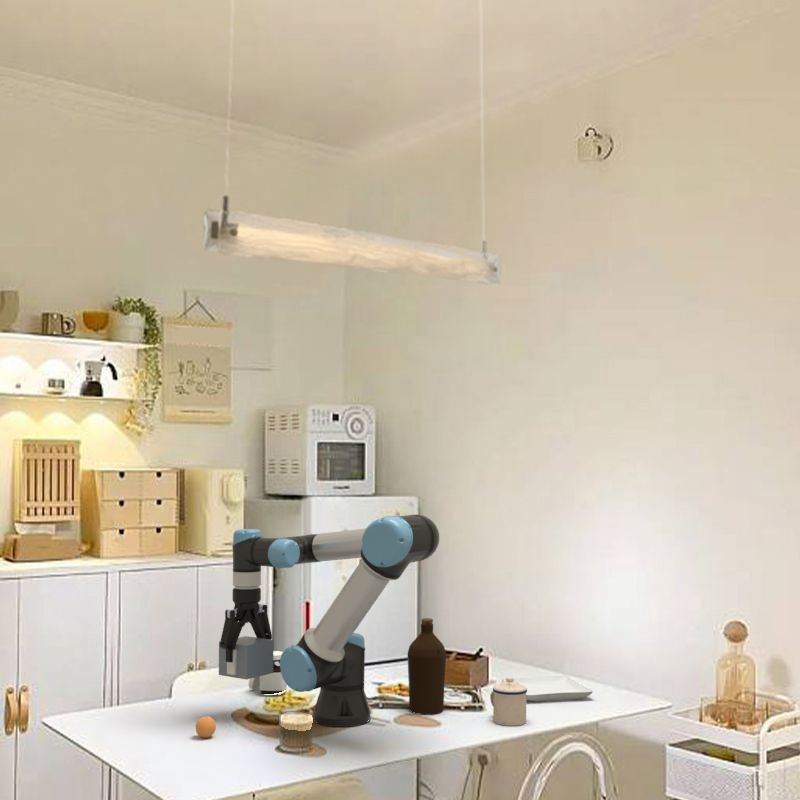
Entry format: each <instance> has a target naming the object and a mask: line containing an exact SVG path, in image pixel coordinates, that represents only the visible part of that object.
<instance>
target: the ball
mask: <svg viewBox="0 0 800 800" xmlns="http://www.w3.org/2000/svg"><path fill="white" fill-rule="evenodd" d="M216 730H217V724H216V721H215V720H214V719H213V718H212V717H210V716H203V717H201V718H199V719H198V720H197V721H196V724H195V732H196V734H197V735H198V736H199V737H200V738H204V739H206V738H210V737H212V736H213V735H214V733H215V732H216Z"/></svg>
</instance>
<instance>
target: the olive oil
mask: <svg viewBox="0 0 800 800" xmlns="http://www.w3.org/2000/svg"><path fill="white" fill-rule="evenodd" d="M420 619H421V624H420V633H419V634H418V636H417V637H415V639H414V640H413V641H412V642H411V643H410V645H409V647H408V650H407V675H408V676H407V677H408V701H409V702H408V704H409V705H408V709H410V710H411V711H412V712H411V711H410V710H409V711H410V712H411V713H413V712H415V713H414V714H416V713H420V714H419V715H426V714H429V715H437V714H440V713H442V711H443V712H444V704H445V702H444V701H445V681H446V680H445V679H446V664H447V663H446V662H447V652H446V648H445V646H444V644H443V643H442V641H440V639H439V638H438V637H437V636H436V635H435V634H434V624H433V623H434V619H433V618H429V617H428V618H420Z"/></svg>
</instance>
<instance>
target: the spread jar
mask: <svg viewBox="0 0 800 800" xmlns="http://www.w3.org/2000/svg"><path fill="white" fill-rule="evenodd" d="M283 652H284V651H280V650H273V673H271V674H267V675H263V676H259V677H255V678H251V679H248V687H249V689H251V690H252V691H257V690H259V692H260V694H261V695H262V694H274V693H279V692H282V691H284V690H286V691H287V687H288V685H287V684H286V683H285V681H284V679H283V677H282V675H281V668H280V658H281V655H282V653H283Z"/></svg>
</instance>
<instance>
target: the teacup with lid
mask: <svg viewBox="0 0 800 800" xmlns="http://www.w3.org/2000/svg"><path fill="white" fill-rule="evenodd" d="M505 679H506V681H502V682H500V683H498V684H495V685H494V686H493V688H492V691H491V692H490V698H489V699H490V704H491V706H492V707H493V708H492V709H493V716H492V717H493V722H494V723H495V724H497V725H500V726H506V727H516V726H522V725H525V724H526V722H527V700H526V692H527V688H526V687H525V686H523V685H520V684H519V683H517V682H515V681H514V677H513V676H512V677H511V676H508V677H506V678H505Z"/></svg>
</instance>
